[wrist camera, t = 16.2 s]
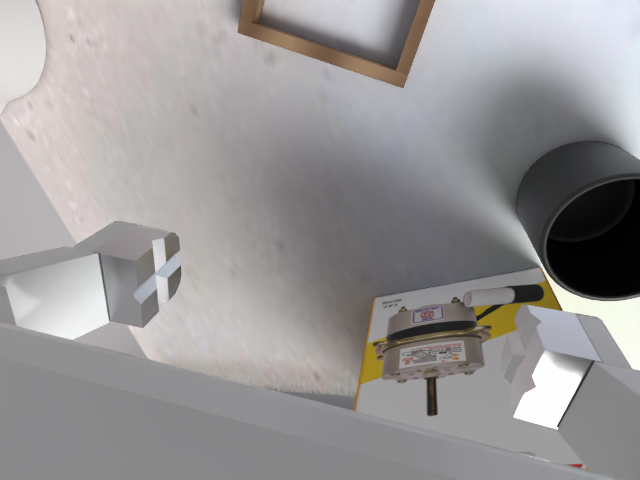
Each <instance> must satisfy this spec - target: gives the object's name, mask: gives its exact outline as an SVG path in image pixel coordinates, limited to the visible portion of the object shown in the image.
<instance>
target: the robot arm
mask: <svg viewBox="0 0 640 480" xmlns="http://www.w3.org/2000/svg"><path fill="white" fill-rule="evenodd" d="M45 57H46V38H45V31H44V25H43V21H42V17H41V14H40V11H39V8H38V5H37V3H36V0H0V114H1V112H2V111H3V109H4V108H5V106H6V105H7V103H8V102H10V101H12V100H14V99H16V98H19V97H21V96H23V95H25V94H27V93H28V92H29V91H30V90H32V88H33V87H34V86H35V85H36V84H37V82H38V80H39V79H40V76H41V74H42V71H43V68H44V64H45ZM179 250H180V245H179V237H178V236H177V235H176V233H174V232H169V231H165V230H160V229H156V228H151V227H147V226H143V225H137V224H135V223H129V222H123V221H114V222H113V223H111V224H110V225H108V226H106V227H105V228H103V229H101V230H100V231H98V232H96V233H95V234H93V235H92V236H90V237H88V238H87V239H85V240H83V241H82V242H80V243H78V244H77V245H75V246H74V247H72V248H71V247H61V248H56V249H52V250H46V251H42V252H37V253H32V254H27V255H23V256H18V257H13V258H8V259H3V260H0V480H640V371H638V370H634V369H632V368H631V366H630V365H629V363H628V361H627V360H626V358H625V357H624V355H623V353H622V352H621V350H620V349H619V347H618V345H617V344H616V342H615V341H614V339H613V337H612V336H611V334H610V333H609V331H608V329H607V328H606V326H605V325H604V323H603V321H602V320H601V319H599V318H597V317H594V316H588V315H581V314H575V313H570V312H565V311H559V310H553V309H548V308H542V307H537V306H531V305H524V304H522V305H521V307H520V308H519V309H518V311H517V314H516V316H515V319H514V320H515V324H516V327H517V330H515V331H514V332H512V333H511V334H509V335H508V336H507V339H506V342H505V344H504V347H503V353H502V371H503V375H504V377H505V378H506V380H507V381H508V382H509V383H510V384H511V385H510V388H509V390H508V392H507V393H508V397H509V401H510V405H511V409H512V413H513V417H515V418H518V419H522V420H526V421H530V422H533V423H537V424H541V425H544V426H548V427H552V428H556V429H557V432H558V433H559V434H560V435H561V437H562V438H563V439H564V440H565V441H566V443H567V444H568V445H569V446H570V447H571V449H572V450H573V451H574V452H575V453H576V455H577V456H578V457H579V458H580V460H581V461H582V462H583V463H584V464H585V466H586V467H587V468H588V469H589V470H586V469H582V468H578V467H574V466H570V465H566V464H562V463H558V462H554V461H550V460H546V459H542V458H538V457H534V456H530V455H526V454H522V453H518V452H514V451H510V450H506V449H502V448H498V447H494V446H491V445H487V444H483V443H479V442H475V441H471V440H467V439H463V438H459V437H455V436H451V435H447V434H443V433H439V432H435V431H431V430H427V429H423V428H419V427H415V426H411V425H407V424H403V423H399V422H395V421H391V420H387V419H383V418H379V417H375V416H371V415H367V414H363V413H359V412H355V411H351V410H348V409H343V408H340V407H336V406H331V405H328V404H324V403H320V402H316V401H312V400H308V399H303V398H300V397H296V396H292V395H288V394H284V393H280V392H276V391H272V390H268V389H264V388H260V387H256V386H252V385H248V384H244V383H240V382H237V381H233V380H229V379H225V378H221V377H217V376H213V375H209V374H205V373H201V372H197V371H193V370H189V369H185V368H181V367H177V366H173V365H169V364H165V363H161V362H157V361H153V360H149V359H145V358H141V357H137V356H133V355H130V354H125V353H122V352H118V351H114V350H110V349H106V348H102V347H98V346H94V345H90V344H86V343H82V342H78V341H74V340H73V339H75V338H77V337H79V336H81V335H84V334H86V333H88V332H90V331H92V330H94V329H96V328H99V327H101V326H103V325H105V324H107V323H109V321H113V322H117V323H122V324H127V325H132V326H136V327H141V328H143V327H144V326H145V325H146V324H147V323H148V322H149V321H150V320H151V319H152V318H153V317H154V316H155V315H156V314H157V313H158V311H159V306H158V304H160V303H163V302H166V301H168V300H170V299H171V297H172V296H173V295H174V294H175V293H176V290H177V288H178V286H179V284H180V279H181V265H180V263H179V262H178V260H177V259H176V257H175V255H176V254H177V253H178V251H179Z"/></svg>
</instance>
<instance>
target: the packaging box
mask: <svg viewBox="0 0 640 480" xmlns="http://www.w3.org/2000/svg"><path fill="white" fill-rule="evenodd" d="M522 304H524V305H531V306H537V307H542V308H548V309H553V310H559V311H563V310H562V308H561V306H560V304H559V302H558V300H557V298H556V296H555V294H554V292H553V290H552V288H551V286H550V284H549V282H548V280H547V278H546V276H545V274H544V272H543V270H542V268H540V267H539V268H534V269H528V270H523V271H517V272H512V273H506V274H501V275H496V276H490V277H485V278H479V279H474V280H469V281H463V282H458V283H452V284H447V285H441V286H436V287H431V288H425V289H420V290H414V291H409V292H404V293H398V294H393V295H387V296H382V297H377V298H374V300H373V305H372V311H371V316H370V322H369V327H368V333H367V338H366V344H365V349H364V355H363V361H362V366H361V372H360V377H359V383H358V388H357V394H356V399H355V406H354V411H355V412H359V413H363V414H367V415H371V416H375V417H379V418H383V419H387V420H391V421H395V422H399V423H403V424H407V425H411V426H415V427H419V428H423V429H427V430H431V431H435V432H439V433H443V434H447V435H451V436H455V437H459V438H463V439H467V440H471V441H475V442H479V443H483V444H487V445H491V446H494V447H498V448H502V449H506V450H510V451H514V452H518V453H522V454H526V455H530V456H534V457H538V458H542V459H546V460H550V461H554V462H558V463H562V464H566V465H570V466H574V467H578V468H582V469H586V470H589V469H588V468H587V467H586V466H585V464H584V463H583V462H582V461H581V460H580V458H579V457H578V456H577V455H576V453H575V452H574V451H573V450H572V449H571V447H570V446H569V445H568V444H567V443H566V441H565V440H564V439H563V438H562V437H561V435H560V434H559V433H558V432H557V429H556V428H552V427H548V426H544V425H541V424H537V423H533V422H530V421H526V420H522V419H518V418H515V417H513V413H512V409H511V405H510V401H509V397H508V393H507V392H508V390H509V388H510V385H511V384H510V383H509V382H508V381H507V380H506V378H505V377H504V375H503V371H502V353H503V347H504V344H505V342H506V339H507V336H508V335H509V334H511V333H512V332H514V331H515V330H517V327H516V324H515V320H514V319H515V316H516V314H517V311H518V309H519V308H520V307H521V305H522Z"/></svg>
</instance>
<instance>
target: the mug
mask: <svg viewBox="0 0 640 480" xmlns="http://www.w3.org/2000/svg"><path fill="white" fill-rule="evenodd" d="M516 207H517V213H518V216H519V219H520V221H521V223H522V225H523V227H524V229H525V231H526V233H527V235H528V237H529V239H530V241H531V243H532V245H533V247H534V249H535V251H536V252H537V254H538V256H539V258H540V260H541V262H542V264H543V266H544V268H545V270H546V271H547V273H548V274H549V276H550V277H551V278H552V279H553V280H554V282H556V283H557V284H558V285H559V286H560V287H562V288H563V289H565V290H567V291H569V292H570V293H572V294H575V295H577V296H580V297H583V298H587V299H591V300H599V301H619V300H627V299H632V298H636V297H640V160H639V159H637V158H635V157H634V156H632V155H630V154H629V153H627V152H625V151H624V150H622V149H620V148H619V147H617V146H614V145H611V144H608V143H604V142H598V141H584V142H576V143H572V144H568V145H565V146H562V147H559V148H557V149H555V150H553V151H551V152H549V153H548V154H546V155H545V156H543V157H542V158H540V159H539V160H538V161H537V162H536V163H535V164H534V165H533V166H532V167H531V168H530V169H529V171H528V172H527V173H526V175H525V176H524V178H523V180H522V182H521V184H520V186H519V189H518V193H517V199H516Z"/></svg>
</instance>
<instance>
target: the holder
mask: <svg viewBox="0 0 640 480" xmlns="http://www.w3.org/2000/svg"><path fill="white" fill-rule="evenodd" d="M434 2H435V0H420V3H419V6H418V8H417V11H416V14H415V17H414V20H413V23H412V26H411V28H410V31H409V34H408V37H407V40H406V43H405V46H404V49H403V51H402V54H401V57H400V60H399V63H398V66H397V69H396V68H393V67H390V66H387V65H384V64H381V63H378V62H375V61H372V60H369V59H366V58H363V57H360V56H357V55H354V54H351V53H348V52H345V51H342V50H339V49H336V48H333V47H330V46H327V45H324V44H321V43H318V42H315V41H312V40H309V39H306V38H303V37H300V36H297V35H294V34H291V33H288V32H285V31H282V30H279V29H276V28H273V27H270V26H267V25H264V24H261V23H260V21H261V16H262V10H263V5H264V0H243V3H242V9H241V15H240V21H239V27H238V33H240V34H243V35H246V36H249V37H252V38H255V39H258V40H261V41H264V42H267V43H270V44H273V45H276V46H279V47H282V48H285V49H288V50H291V51H294V52H297V53H300V54H303V55H306V56H309V57H312V58H315V59H318V60H321V61H324V62H327V63H330V64H333V65H336V66H339V67H342V68H345V69H348V70H351V71H354V72H357V73H359V74H362V75H365V76H368V77H371V78H374V79H377V80H380V81H383V82H386V83H389V84H392V85H395V86H398V87H401V88H403V87H404V85H405V82H406V79H407V76H408V74H409V71H410V68H411V65H412V63H413V60H414V57H415V54H416V52H417V49H418V46H419V43H420V41H421V38H422V35H423V32H424V30H425V27H426V24H427V21H428V19H429V16H430V13H431V10H432V8H433V5H434Z"/></svg>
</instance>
